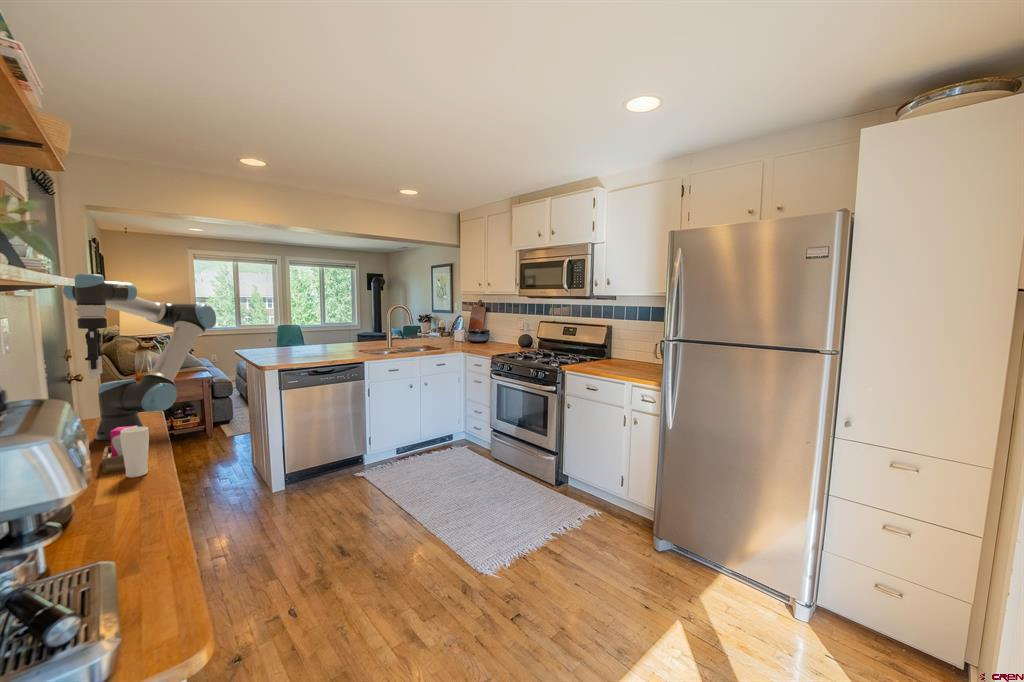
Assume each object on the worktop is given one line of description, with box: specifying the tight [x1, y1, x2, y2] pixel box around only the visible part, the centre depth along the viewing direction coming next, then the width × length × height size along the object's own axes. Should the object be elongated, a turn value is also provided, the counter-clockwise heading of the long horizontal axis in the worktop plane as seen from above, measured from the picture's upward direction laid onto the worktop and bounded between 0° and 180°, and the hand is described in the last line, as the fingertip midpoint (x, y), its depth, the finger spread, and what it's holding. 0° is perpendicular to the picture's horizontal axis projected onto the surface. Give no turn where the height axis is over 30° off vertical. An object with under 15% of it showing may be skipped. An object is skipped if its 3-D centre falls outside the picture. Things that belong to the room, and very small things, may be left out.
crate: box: [101, 445, 126, 475], centre depth 147 cm, size 16×11×5 cm
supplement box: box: [110, 426, 138, 457], centre depth 147 cm, size 6×6×12 cm
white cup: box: [120, 426, 150, 479], centre depth 137 cm, size 7×7×15 cm
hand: (96, 376), depth 155 cm, fingers open, 13 cm apart
